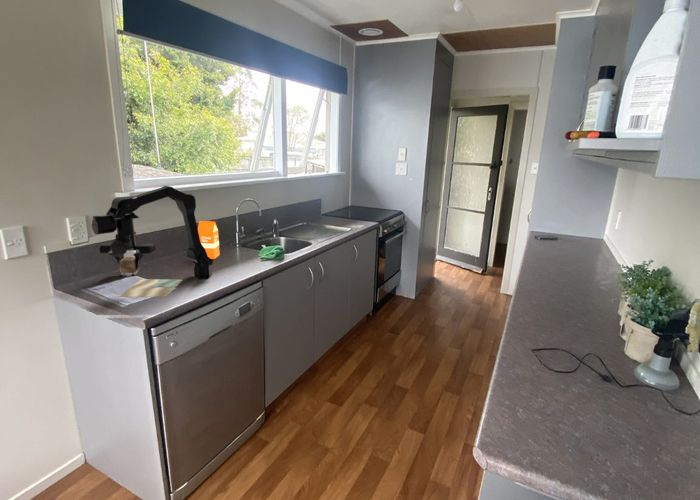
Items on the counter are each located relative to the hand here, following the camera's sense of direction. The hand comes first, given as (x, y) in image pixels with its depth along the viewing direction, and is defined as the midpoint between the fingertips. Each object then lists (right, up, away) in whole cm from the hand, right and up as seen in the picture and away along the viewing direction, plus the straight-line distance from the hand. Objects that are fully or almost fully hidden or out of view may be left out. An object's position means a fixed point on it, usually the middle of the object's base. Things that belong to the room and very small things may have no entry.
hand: (130, 268), depth 148 cm
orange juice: (+9, +4, +58) cm, 59 cm away
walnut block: (0, -1, 0) cm, 1 cm away
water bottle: (-16, -4, +26) cm, 30 cm away
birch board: (+4, -9, +9) cm, 14 cm away
